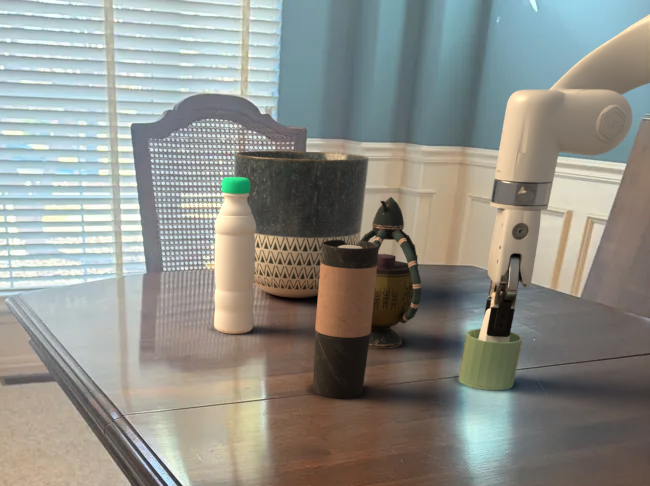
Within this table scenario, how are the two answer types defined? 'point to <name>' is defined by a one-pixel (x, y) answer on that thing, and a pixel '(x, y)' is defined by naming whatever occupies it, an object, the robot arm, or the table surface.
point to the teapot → (392, 278)
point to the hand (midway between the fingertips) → (495, 330)
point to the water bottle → (234, 259)
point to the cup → (489, 362)
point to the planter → (300, 213)
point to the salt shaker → (483, 330)
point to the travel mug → (344, 317)
